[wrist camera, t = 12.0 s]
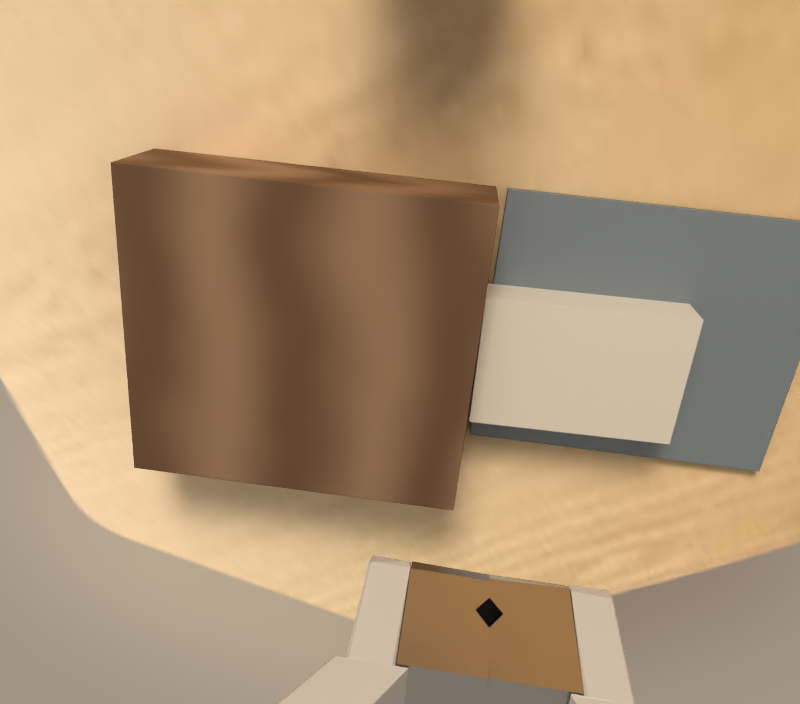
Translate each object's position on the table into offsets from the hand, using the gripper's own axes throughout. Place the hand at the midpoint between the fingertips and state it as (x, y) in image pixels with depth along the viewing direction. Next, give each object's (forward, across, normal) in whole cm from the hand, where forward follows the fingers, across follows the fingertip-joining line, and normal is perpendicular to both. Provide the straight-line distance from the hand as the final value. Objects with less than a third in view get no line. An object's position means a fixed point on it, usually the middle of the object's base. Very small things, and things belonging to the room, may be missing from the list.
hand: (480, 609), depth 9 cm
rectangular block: (+23, -5, +6) cm, 24 cm away
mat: (+23, -8, +5) cm, 25 cm away
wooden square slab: (+23, +8, +6) cm, 25 cm away
